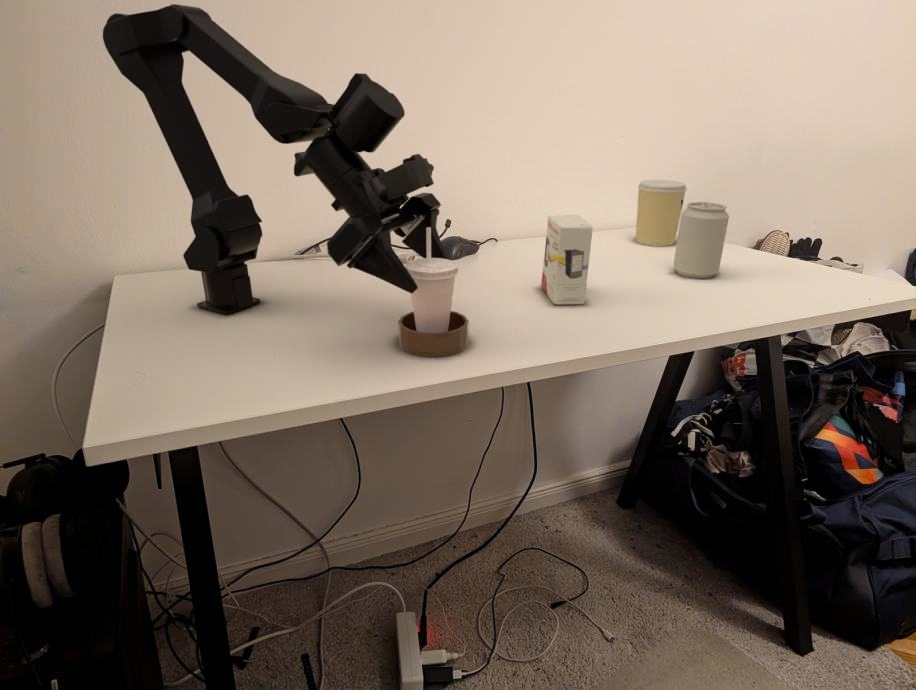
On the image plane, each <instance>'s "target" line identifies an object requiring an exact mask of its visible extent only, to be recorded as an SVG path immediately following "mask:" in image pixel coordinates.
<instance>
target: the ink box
mask: <svg viewBox="0 0 916 690" xmlns="http://www.w3.org/2000/svg"><path fill="white" fill-rule="evenodd" d="M592 237H593V225H592V224H590V223H589V222H588V221H586V219H584V218H582V216H580V214H579V215H578V214H561V215H560V214H559V215H555V214H554V215H547V224H546V236H545V245H544V254H543V255H544V257H543V264H542V272H541V273H542V275H541V283H540V284H541V285H540V288H542V290H543V291H544V293H545V295H547V297H548V298H549V299H550V301H551V302H552V303H553V305H585V301H586V293H587V292H586V291H587V284H588V283H587V281H588V273H589V265H590V256H591V248H592V247H591V246H592V239H593V238H592Z"/></svg>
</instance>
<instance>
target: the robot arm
mask: <svg viewBox="0 0 916 690" xmlns="http://www.w3.org/2000/svg"><path fill="white" fill-rule="evenodd" d="M102 40H103V44H104V46H105V49H106V51H107V53H108V54H109V56H110V57H111V60H112V61H113V62H114V64H115V66H116V67H117V69H118V71H119V72H120V74H121V75H122V76H123V77H124V78H126V79H127V80H128V81H129V82H130V83H131V84H132V85H134V86H135V87H136V88H137V89H138V90H139V91H140V92H142V94H143V95H144V97H145V99H146V101H147V104H148V106H149V108H150V110H151V113H152V114H153V117H154V119H155V121H156V123H157V125H158V128H159V129H160V131H161V134H162V136H163V138H164V141H165V143H166V145H167V146H168V149H169V152H170V154H171V155H172V157H173V159H174V162H175V164H176V167H177V168H178V171H179V173H180V175H181V177H182V179H183V181H184V183H185V186H186V188H187V190H188V192H189V195H190V197H191V200H192V204H191V205H192V206H191V212H190V214H191V215H190V224H191V227H192V231H193V234H194V238H193V240H192V241H191V243H190V244H189V246H187V249H186V250H185V251H184V253H183V254H182V257H183V259H184V262H185V264H186V266H187V268H188V270H190V271H195V272H200V273H201V280H202V285H203V286H202V287H203V292H204V297H205V300H202V301H200V302H197V303H196V306H197V308H200V309H202V310H203V309H204V310H208V311H210V312H215V313H218V314H222V315H229V314H233V313H236V312H238V311H240V310H243V309H247V308H249V307H252V306H254V305H257V304H260V303H261V301H262V300H261V298H259V297H255V296H253V292H252V291H253V289H252V282H251V276H250V275H249V268H248V264H247V263H246V262H248V261H251V260H253V261H254V260H256V259H257V255H258V249H259V245H260V244H261V239H262V237H263V230H262V227H261V224H260V223H262V222H263V220H262V218H260V216H259V214H258V213H257V211H256V208H255V205H254V202H253V200H252V198H251V197H250V195H249V194H242V195H238V194H237V193H236V192H235V191H234V190H233V189H231V188H230V186H229V184H228V183H227V180H226V178H225V176H224V174H223V172H222V169H221V167H220V164H219V163H218V161H217V158H216V156H215V154H214V151H213V149H212V147H211V144H210V142H209V140H208V137H207V135H206V134H205V131H204V128H203V127H202V124H201V123H200V120H199V118H198V116H197V114H196V111H195V109H194V107H193V104H192V102H191V100H190V98H189V96H188V94H187V93H188V92H187V91H186V88H185V87H184V84H183V74H184V66H185V59H184V55H183V54H184V53H187V52H190V53H191V54H192V55H194V57H195V58H197V59H198V60H199V61H201V62H202V63H203V64H204V65H205V66H206V67H208V68H209V69H210V70H211V71H212V72H213V73H215V75H217V76H218V77H219V78H221V79H222V80H223V81H224V82H225V83H227V84H228V85H229V86H230V87H231V88H232V89H234V90H235V91H236V92H237V93H238V94H240V96H242V97H243V98H244V99H245V100H246V101H247V102H248V104H249V105H250V107H251V110H252V113H253V116H254V118H255V119H256V121H257V122H258V123H259V124H260V126H262V128H263V129H264V130H265V131H266V132H267V134H269V136H270V137H271V138H272V139H273V140H274V141H275V142H278V143H279V144H282V145H290V144H299V143H305V142H307V143H308V142H311V143H310V144H309V145H308V146H307V148H306V149H305V150H304V151H299V152H295V153H294V155H293V156H294V165H293V175H294V177H297V178H298V177H302V176H308V175H311V174H312V175H313V174H314V176H315V177H316V178H317V179H318V180H319V182H320V183H321V184H322V185H323V186H324V188H325V189H326V190H327V191H328V193H329V194H330V195H331V196H332V197H333V199H334V200H333V201H332V203H331V204H330V206H331V207H332V208H333V210H334V211H335V212H339V211H342V210H343V211H344V213H346V214H347V216H349V217H347V218H346V220H345V221H344V222H343V224H341V225H340V227H339V228H338V229H337V230H336V231H335V232H334V234H333V235H332V236H331V237H330V238H329V239H328V241H326V248H327V255H328V256H329V257H330V258H331V260H332V261H333V262H334V263H335V264H336V266H337V267H340V266H343V265H345V264H346V267H347V268H348V269H349V270H350V269H351V270H352V269H356V270H358V271H361V272H363V273H365V274H368V275H370V276H372V277H375V278H377V279H379V280H382V281H384V282H386V283H388V284H390V285H392V286H394V287H397V288H399V289H401V290H403V291H405V292H407V293H409V294H411V293H413V292H415V291H416V290H417V289H418V286H417V285H416V283H415V281H414V279H413V278H412V276H411V275H410V273H409V272H408V270H407V269H406V265H404V263H403V261H401V259H400V257H399V256H398V255H397V253H396V252H395V250H394V249H393V247H392V236H391V235H392V234H391V233H392V232H394V234H395V235H397V236H398V237H400V238H402V240H401V243H402V244H404V245H405V246H407V247H408V248H409V249H410V250H412V251H413V252H415V253H416V254H417V255H419V256H420V257H421V258H427V255H426V228H427V227H430V228H431V258H442V259H448V260H449V258H448V255H447V253H446V251H445V248H444V245H443V243H442V241H441V239H440V236H439V233H438V229H437V222H438V216H439V215H440V207H441V206H442V204H441V202H440V201H439V200H438V198H436V196H435V195H434V194H433V193H432V192H421V193H418V194H415V195H412V196H410V197H409V196H408V195H409V194H411V193H413V192H416V191H417V190H420V189H423V188H424V187H425V188H428V187H431V186H433V185H434V184H435V182H434V180H433V178H432V176H433V171H434V170H435V169H434V168H435V167H434V165H433V164H432V163H430V162H429V161H428V158H427V157H423V156H422V155H421V153H415V154H412V155H411V156H410V157H406V158H403V160H402V163H401V164H399V165H397V166H395V167H393V168H391V169H389V170H387V171H385V169H384V168H380V167H377V168H373V169H372V168H371V166H370V165H369V164H368V162H367V161H366V160H365V159H364V158H363V156H362V155H361V154H360V153H363V152H365V153H368V154H371V153H375V152H376V151H377V149H378V148H379V147H380V146H381V145H382V143H384V141H385V140H386V139H387V138H388V137H389V135H390V134H391V133H392V132H393V130H394V129H395V128H396V127H397V125H398V124H399V123H400V122H401V121H402V120H403V119H404V117H405V109H404V106H403V104H402V102H401V101H400V100H399V98H398V97H397V96H396V95H395V94H394V93H393V92H390V91H388V89H387V88H385V87H384V86H383V85H381V84H380V83H378V82H377V81H375V80H372V78H371V77H370V76H369V74H367V73H362V72H361V73H358V72H355V73H354V75H352V77H351V78H350V80H349V81H348V84H347V87H346V88H345V90H344V91H343V93H341V95H340V97H339V98H338V99H337V101H336V102H335V103H334V104H333V103H330V102H328V101H327V100H326V99H325V98H324V96H323V95H322V94H320V93H319V92H317V91H315V90H313V89H311V88H310V87H308V86H307V85H305V84H303V83H301V82H298V81H296V80H293V79H291V78H288V77H286V76H284V75H281V74H279V73H277V72H276V71H274V70H273V69H271V68H270V66H268V65H267V64H265V62H263V61H262V60H261V59H260V58H258V57H257V56H256V55H255V54H254V53H252V52H251V51H250V50H249V49H248V48H246V47H245V46H244V45H243V44H242V43H241V42H239V41H238V40H237V39H235V37H233V36H232V35H231V34H229V32H227V31H226V30H225V29H224V28H222V27H221V26H220V25H219V24H218V23H216V22H215V21H214V20H213V19H212V17H211V16H210V14H209V13H208V12H206V11H205V10H204V9H202V8H200V7H198V6H190V5H183V4H176V3H175V4H174V3H173V4H170V5H166V6H164V7H161V8H158V9H154V10H149V11H144V12H138V13H132V14H131V13H130V14H127V13H126V14H124V13H116V12H115V13H114V14H110V16H108V18H107V20H106V22H105V25H104V26H103V29H102Z"/></svg>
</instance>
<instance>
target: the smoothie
mask: <svg viewBox="0 0 916 690" xmlns="http://www.w3.org/2000/svg"><path fill="white" fill-rule="evenodd" d="M426 255H427V258H423V257H421V258H417V259H413V260H410V261H408V262H406V264H405V268H406V269H407V270H408V272H409V273H410V275H411V276H412V278H413V279H414V281H415V283H416V285H417V286H418V289H417V290H416V291H415V292H413V293H410V297H411V304H412V310H413V311H412V312H414V318H415V324H416V331H418V332H424V333H441V332H448V327H449V320H450V312H451V311H452V304H453V296H454V289H455V282H456V276H457V275H458V274H459V264H458V263H457V262H455V261H454V260H451V259H449V258H448V259H442V258H431V228H430V227H427V228H426Z"/></svg>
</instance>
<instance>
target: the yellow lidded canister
mask: <svg viewBox="0 0 916 690" xmlns="http://www.w3.org/2000/svg"><path fill="white" fill-rule="evenodd" d="M686 186H687V184H686V183H685V182H681V181H676V180H668V179H667V180H666V179H647V180H641V181H640V182H639V184H638V186H637V189H638V193H637V194H638V195H637V208H636V209H637V210H636V212H637V213H636V224H635V225H636V227H635V241H636V242H637V243H639V244H642V245H646V246H651V247H653V246H654V247H666V246H668V247H669V246H672V245H674V243H675V240H676V236H677V232H678V229H679V224H680V220H681V213H682V211H683V210H682V209H683V205H684V200H685V195H686V192H687V190H688V189H687V187H686Z"/></svg>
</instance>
